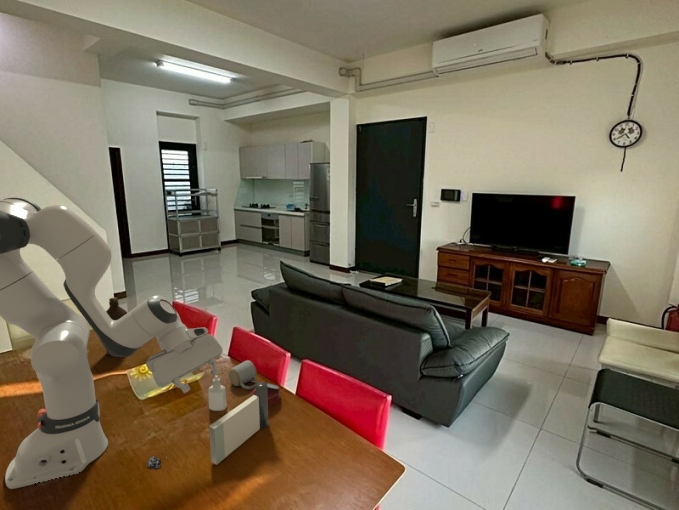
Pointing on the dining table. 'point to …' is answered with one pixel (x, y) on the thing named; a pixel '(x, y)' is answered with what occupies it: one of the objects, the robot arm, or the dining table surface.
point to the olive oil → (115, 311)
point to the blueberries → (154, 463)
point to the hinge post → (262, 403)
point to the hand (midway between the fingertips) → (202, 382)
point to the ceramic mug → (243, 374)
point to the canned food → (269, 393)
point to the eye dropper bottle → (217, 396)
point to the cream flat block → (234, 429)
